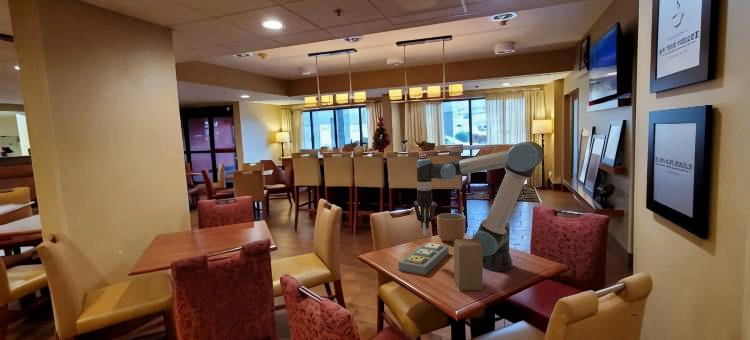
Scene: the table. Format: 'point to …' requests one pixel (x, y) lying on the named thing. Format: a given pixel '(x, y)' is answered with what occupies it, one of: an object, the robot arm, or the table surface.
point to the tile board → (428, 265)
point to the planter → (450, 226)
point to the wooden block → (468, 264)
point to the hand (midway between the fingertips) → (425, 234)
